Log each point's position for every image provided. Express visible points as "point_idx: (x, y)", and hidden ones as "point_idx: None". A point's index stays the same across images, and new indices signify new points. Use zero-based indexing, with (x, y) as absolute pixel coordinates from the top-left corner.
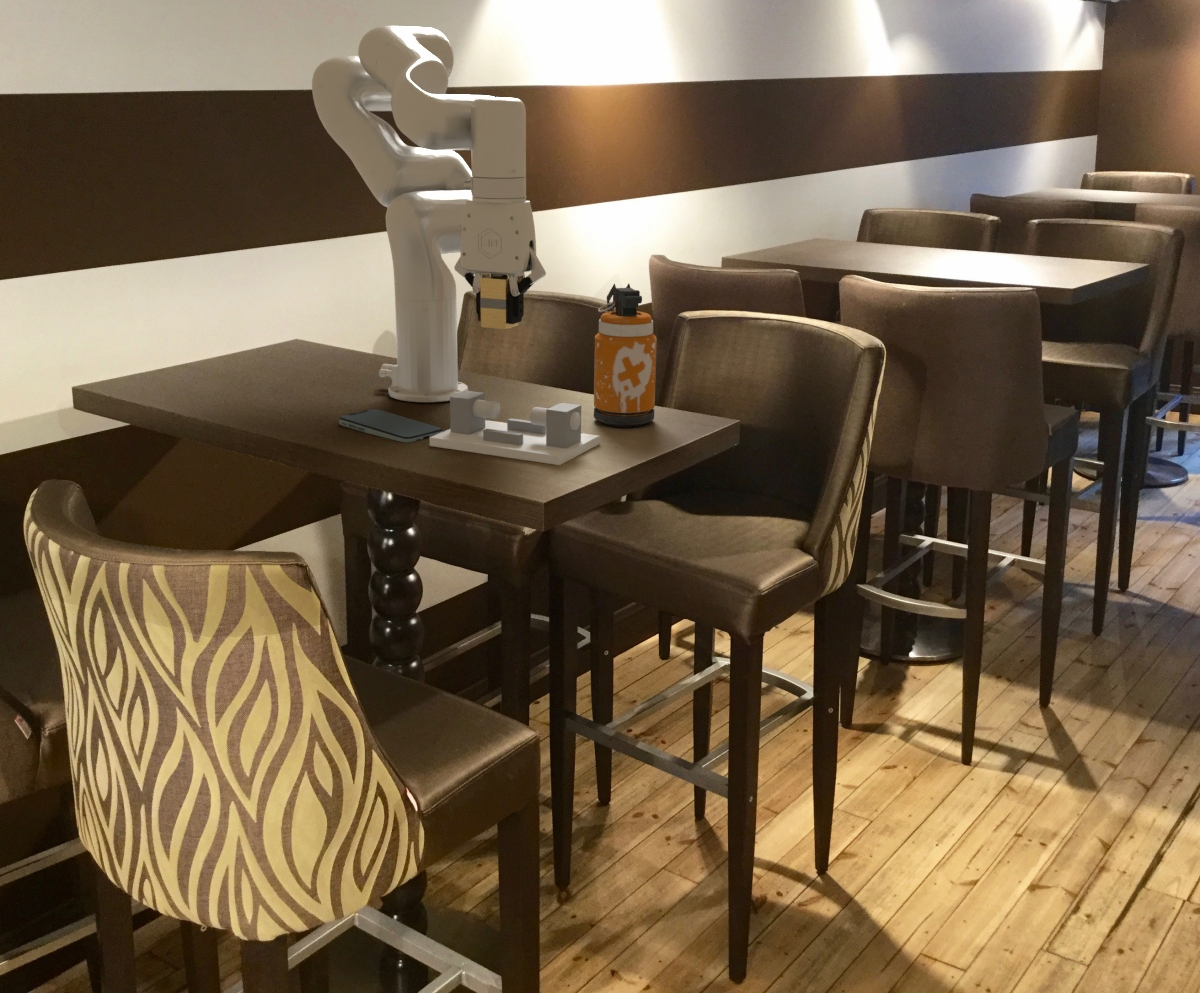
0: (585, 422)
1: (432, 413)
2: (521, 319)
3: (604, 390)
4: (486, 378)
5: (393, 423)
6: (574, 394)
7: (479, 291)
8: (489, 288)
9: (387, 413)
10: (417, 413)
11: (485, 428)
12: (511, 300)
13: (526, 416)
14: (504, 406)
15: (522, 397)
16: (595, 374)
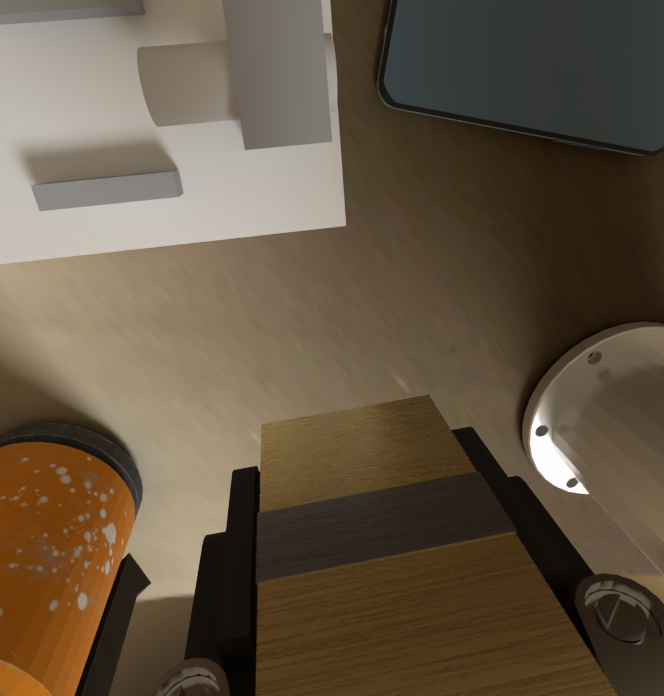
0: (135, 424)
1: (519, 273)
2: None
3: (15, 482)
4: None
5: (542, 38)
6: None
7: (573, 599)
8: (459, 641)
9: (610, 130)
10: (555, 250)
11: (242, 138)
12: (218, 604)
13: (294, 386)
14: None
15: None
16: (56, 528)
